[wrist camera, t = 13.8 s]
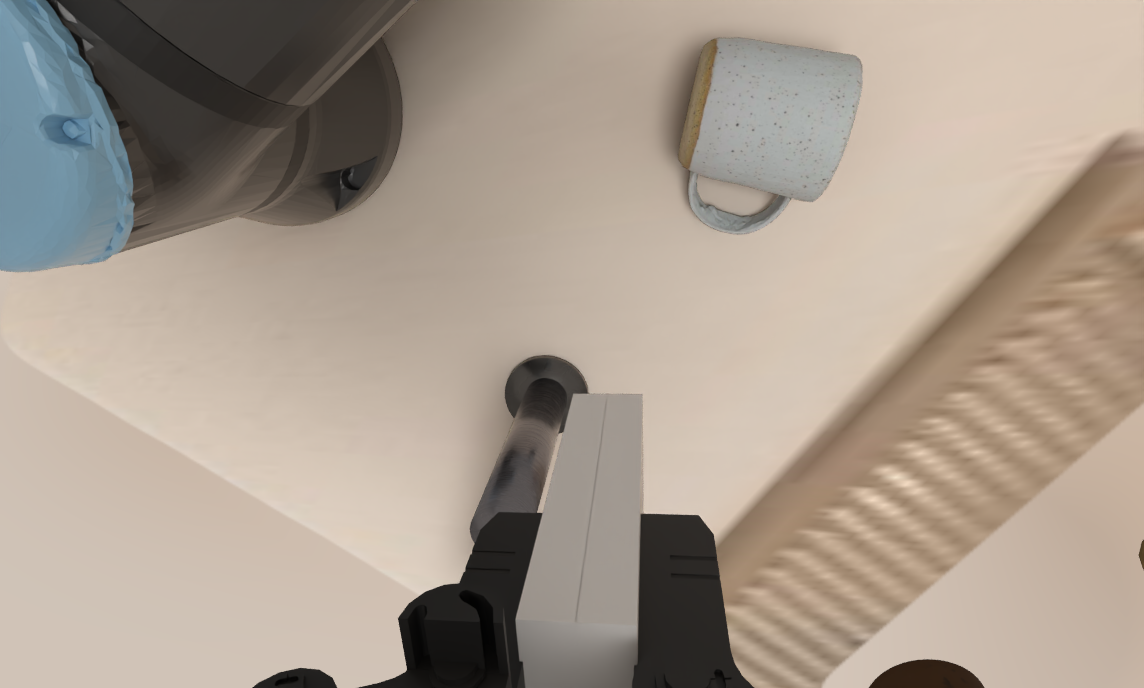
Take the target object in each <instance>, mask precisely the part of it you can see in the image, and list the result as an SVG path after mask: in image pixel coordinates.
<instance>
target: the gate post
mask: <svg viewBox="0 0 1144 688" xmlns="http://www.w3.org/2000/svg"><path fill="white" fill-rule="evenodd" d="M573 394H589V393H588V387H587V384H586V381H585V379H584V377H583V376H582V374H581V373H580V372H579V370H578V369H577V368H576V367H574V366H573V365H572V364H570V363H569V362H567V361H565V360H563V359H561V358H557V357H553V356H537V357H533V358H530V359H527V360H525V361H523V362H522V363H520V364H519V365H518V366H517V367H516V368H515V369H514V370H513V372H512V373H511V375H510V377H509V379H508V381H507V384H506V388H505V399H506V404H507V407H508V409H509V411H510V413H511V414H512V416H513V417H514V418H515V419H514V421H513V424H512V426H511V428H510V431H509V433H508V436H507V438H506V440H505V443H504V445H503V448H502V450H501V452H500V455H499V457H498V459H497V462H496V464H495V467H494V469H493V471H492V474H491V476H490V479H489V481H488V483H487V486H486V488H485V491H484V493H483V495H482V498H481V500H480V502H479V505H478V507H477V510H476V512H475V514H474V517H473V519H472V522H471V525H470V533H471V537H472V539H473V541H474V543H475V542H476V540H477V537H478V534H479V532H480V529H481V528H483V527H484V526H485V525H486V524H487V523H488V522H489V521H490V520H491V519H492V518H493V517H494V516H495V515H496V514H497V513H498V512H521V513H537V510H538V506H539V503H540V499H541V495H542V492H543V488H544V484H545V480H546V477H547V473H548V469H549V466H550V462H551V458H552V455H553V451H554V447H555V444H556V440H557V436H558V433H562V432H564V428H565V424H566V420H567V416H568V412H569V408H570V405H571V401H572V397H573Z"/></svg>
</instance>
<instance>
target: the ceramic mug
mask: <svg viewBox="0 0 1144 688" xmlns="http://www.w3.org/2000/svg"><path fill="white" fill-rule="evenodd" d="M862 72H863V70H862V64H861V61H860V59H859V58H858V57H857V56H855V55H850V54H843V53H836V52H828V51H823V50H817V49H811V48H804V47H798V46H790V45H782V44H775V43H769V42H764V41H758V40H753V39H745V38H716V39H713V40H711V41H710V42H708V43H707V44H706V45H705V46H704V47H703V49H702V51H701V55H700V59H699V63H698V68H697V72H696V76H695V80H694V84H693V89H692V93H691V97H690V102H689V106H688V111H687V115H686V119H685V124H684V128H683V133H682V137H681V142H680V147H679V152H678V158H679V161H680V162H681V164H682V165H683V167H685V168H687V169H688V170H690V178H689V187H688V195H689V201H690V205H691V208H692V210H693V211H694V213H695V214H696V216H697V217H698V218H699V219H700V220H701V221H702V222H703V223H704V224H706V225H708V226H709V227H711V228H713V229H715V230H718V231H721V232H725V233H730V234H748V233H752V232H755V231H757V230H759V229H761V228H763V227H765V226H767V225H768V224H769V223H771V222H772V221H773V220H774V219H775V218H777V217H778V216H779V215H780V213H781V212H782V211H783V210H784V209H785V207H786V206H787V205H788V203H789V201H790V200H791V198H793V199H796V200H801V201H807V202H813V201H815V200H816V199H818V197H819V196H821V195H822V193H823V192H824V190H825V189H826V188H827V186H828V185H829V183H830V181H831V179H832V177H833V175H834V173H835V171H836V169H837V167H838V165H839V163H840V160H841V158H842V156H843V153H844V150H845V147H846V145H847V142H848V139H849V137H850V133H851V129H852V126H853V122H854V119H855V115H856V112H857V108H858V104H859V100H860V96H861V91H862ZM698 174H699V175H702V176H705V177H708V178H712V179H716V180H720V181H725V182H731V183H736V184H740V185H744V186H748V187H751V188H755V189H758V190H762V191H766V192H770V193H774V194H778V195H779V196H778V198H777V199H776V200H775V201H774V202H773V203H772V204H771V205H770V206H769V207H768V208H767V209H766V210H764V211H762V212H761V213H759V214H756V215H754V216H750V217H748V216H745V217H740V216H736V215H733V214H730V213H726V212H723V211H720V210H718V209H716V208H715V207H714V206H707V205H705V204H704V203H703V202H702V201H701V198H700V196H699V194H698V192H697V183H696V180H697V175H698Z"/></svg>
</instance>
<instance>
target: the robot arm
mask: <svg viewBox="0 0 1144 688" xmlns="http://www.w3.org/2000/svg"><path fill="white" fill-rule="evenodd" d="M416 1H417V0H0V270H1V271H9V272H33V271H41V270H47V269H52V268H58V267H64V266H71V265H83V264H92V263H97V262H102V261H105V260H107V259H108V258H109V257H111V256H112V255H114V254H117V253H120V252H123V251H126V250H129V249H133V248H136V247H139V246H143V245H146V244H149V243H152V242H156V241H159V240H162V239H166V238H169V237H172V236H175V235H179V234H182V233H185V232H188V231H192V230H195V229H198V228H202V227H205V226H208V225H211V224H215V223H218V222H221V221H225V220H228V219H231V218H234V217H241V218H246V219H250V220H254V221H258V222H263V223H267V224H272V225H281V226H300V225H309V224H314V223H318V222H322V221H325V220H328V219H330V218H333V217H336V216H338V215H341V214H343V213H346V212H348V211H350V210H351V209H353V208H355V207H356V206H358V205H359V204H361V203H362V202H363V201H365V200H366V199H367V198H368V197H369V196H370V195H371V194H372V193H373V192H374V191H375V190H376V189H377V188H378V186H379V185H380V184H381V183H382V181H383V180H384V178H385V176H386V175H387V173H388V171H389V169H390V167H391V165H392V163H393V161H394V158H395V155H396V152H397V149H398V145H399V140H400V135H401V126H402V103H401V94H400V88H399V83H398V79H397V75H396V72H395V68H394V66H393V63H392V60H391V58H390V55H389V53H388V51H387V49H386V47H385V45H384V43H383V41H382V39H381V36H382V35H383V34H384V33H385V32H386V31H387V30H388V29H389V28H390V27H391V26H392V25H393V24H394V23H395V22H396V21H397V20H398V19H399V18H400V17H401V16H402V15H403V14H404V13H405V12H406V11H407V10H408V9H409V8H410V7H411V6H412V5H413V4H414V3H415V2H416ZM398 620H399V627H400V632H401V638H402V643H403V649H404V654H405V660H406V666H407V671H406V672H405V673H403V674H401V675H399V676H397V677H395V678H393V679H390V680H386V681H384V682H381V683H377V684H372V685H368V686H363V687H359V688H754V687H753V686H752V685H751V684H750V683H749V682H748V681H747V680H746V679H745V678H744V677H743V676H742V675H741V673H740V671H739V670H738V668H737V667H736V665H735V663H734V660H733V657H732V654H731V650H730V643H729V636H728V629H727V622H726V616H725V609H724V602H723V595H722V588H721V581H720V575H719V568H718V561H717V554H716V547H715V540H714V534H713V533H712V532H711V531H710V529H709V528H708V527H707V525H706V524H705V523H704V522H703V520H702V519H701V518H700V516H699V515H668V514H643V400H642V394H573V397H572V401H571V405H570V408H569V412H568V416H567V420H566V424H565V428H564V432H563V436H562V440H561V444H560V447H559V451H558V455H557V459H556V463H555V467H554V471H553V475H552V479H551V483H550V486H549V490H548V494H547V498H546V502H545V506H544V510H543V513H521V512H498V513H497V514H496V515H495V516H494V517H493V518H492V519H491V520H490V521H489V522H488V523H487V524H486V525H485V526H484V527H483V528H481V529H480V532H479V534H478V537H477V540H476V542H475V545H474V547H473V550H472V555H470V557H469V560H468V563H467V565H466V570H465V572H464V573H463V575H462V578H461V581H460V583H458V584H448V585H443V586H440V587H437V588H435V589H432V590H429V591H426V592H424V593H423V594H422V595H420V596H419V597H417V598H416V599H415V600H413V601H412V602H411V603H409V604H408V606H407V607H406V608H405V610H404V611H403V612H402V614H401V615H400V616H399V618H398ZM253 688H337V687H336V684H335V682H334V680H333V678H332V677H330V676H328V675H327V674H325V673H324V672H322V671H320V670H316V669H306V668H298V669H294V670H289V671H284V672H280V673H278V674H276V675H273V676H271V677H270V678H267V679H266V680H263V681H261V682H259V683H258V684H256V685H255V686H254V687H253Z"/></svg>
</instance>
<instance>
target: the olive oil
mask: <svg viewBox="0 0 1144 688" xmlns="http://www.w3.org/2000/svg"><path fill="white" fill-rule="evenodd" d="M869 688H984V686H983V685H982V683H981V682H980V681H979V680H978V678H977V677H976V676H975V675H974V674H972V673H971V672H970V671H968V670H966V669H965V668H963V667H961V666H958V665H956V664H953V663H950V662H946V661H941V660H928V659H927V660H915V661H909V662H906V663H902V664H899V665H897V666H894V667H892V668H890V669H889V670H887V671H885V672H884V673H882V674H881V675H880V676H879V677H877V678H876V679H875V680H874V682H873V683H872V684H871V685H870V687H869Z"/></svg>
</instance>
